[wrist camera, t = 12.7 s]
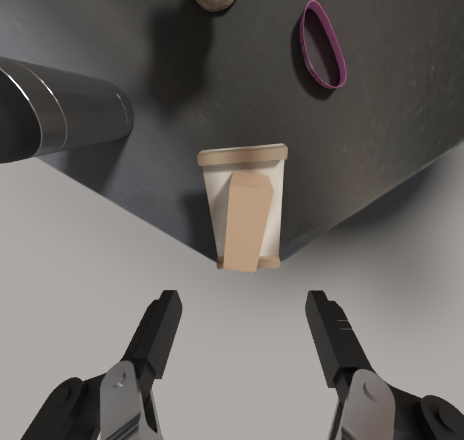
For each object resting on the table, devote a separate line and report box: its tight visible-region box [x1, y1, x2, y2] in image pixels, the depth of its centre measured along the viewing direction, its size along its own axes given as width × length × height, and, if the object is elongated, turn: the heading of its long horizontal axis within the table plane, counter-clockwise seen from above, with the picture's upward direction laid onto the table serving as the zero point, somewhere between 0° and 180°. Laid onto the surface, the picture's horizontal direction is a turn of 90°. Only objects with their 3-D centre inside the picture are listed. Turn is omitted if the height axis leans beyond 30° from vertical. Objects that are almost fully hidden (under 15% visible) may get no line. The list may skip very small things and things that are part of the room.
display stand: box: [197, 144, 288, 269], centre depth 31 cm, size 12×18×15 cm, turn 5°
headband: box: [300, 0, 346, 89], centre depth 26 cm, size 11×4×2 cm, turn 39°
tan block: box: [223, 172, 274, 273], centre depth 23 cm, size 4×12×5 cm, turn 175°
